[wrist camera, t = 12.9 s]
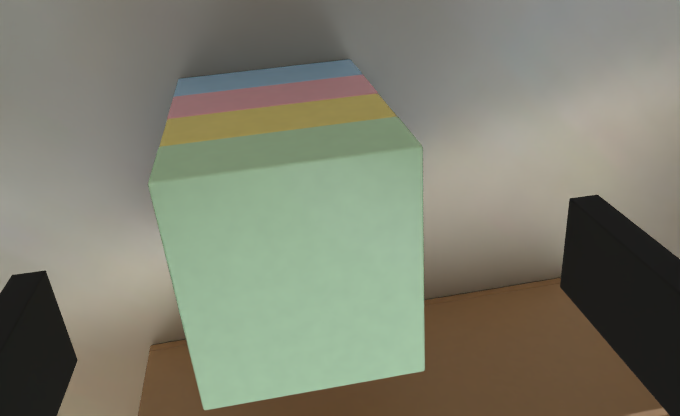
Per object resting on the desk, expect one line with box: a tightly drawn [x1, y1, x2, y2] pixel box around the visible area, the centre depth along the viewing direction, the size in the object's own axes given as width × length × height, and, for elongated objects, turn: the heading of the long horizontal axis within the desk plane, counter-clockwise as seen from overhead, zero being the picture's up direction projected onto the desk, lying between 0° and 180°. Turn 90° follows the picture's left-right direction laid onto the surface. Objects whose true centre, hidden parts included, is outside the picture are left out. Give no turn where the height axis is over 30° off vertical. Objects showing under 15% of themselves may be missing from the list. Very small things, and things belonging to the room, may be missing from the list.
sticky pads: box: [148, 59, 425, 410], centre depth 18 cm, size 6×7×9 cm
